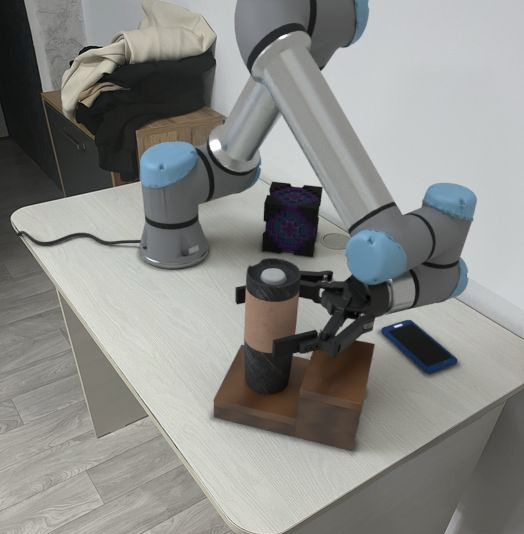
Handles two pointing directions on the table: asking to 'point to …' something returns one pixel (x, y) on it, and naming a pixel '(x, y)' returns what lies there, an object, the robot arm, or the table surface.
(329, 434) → the walnut shelf
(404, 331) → the cell phone
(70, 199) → the table surface
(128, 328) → the table surface
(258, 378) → the travel mug
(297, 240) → the energy cube
